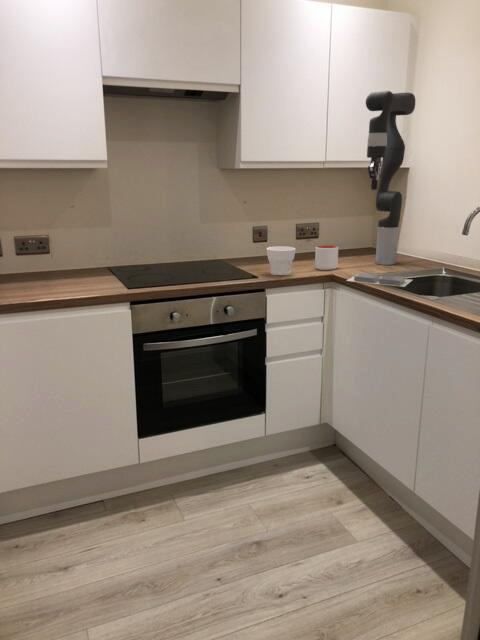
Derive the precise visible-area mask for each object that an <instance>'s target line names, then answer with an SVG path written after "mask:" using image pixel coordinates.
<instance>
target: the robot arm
mask: <svg viewBox="0 0 480 640" xmlns="http://www.w3.org/2000/svg"><path fill="white" fill-rule="evenodd" d="M365 107H366V109H367V110H368V111H370V112H379V111H380V112H381V113H380V114H379V115H378V116H375V117H372V118H370V119H369V123H368V124H369V126H368V136H367V149H366V157H367V158H368V159H370V162H369V165H368V167H367V170H368V174H369V179H370V181H371V183H370V184H371V186H370V189H371V191H375V190H377V192H376V197H375V208H376V211H378V212H387V213H389V214H388V216H386V217H385V218H382V219H379V220H378V222H377V234H376V237H377V239H376V249H375V250H376V251H375V264H378V265H381V266H382V265H385V266H389V265H390V266H392V265H396V263H397V253H398V237H399V227H400V226H399V224H400V220H401V214H402V213H401V212H402V206H403V196H402V193H401V192H400V191H398V190H394V191H393V190H389V188H390V184H391V182H392V179H393V177H394V176H395V174H396V173H397V172H398V170H399V169H400V168H401V166H402V165H403V162H404V160H405V159H404V158H405V150H406V145H405V141H404V140H403V138H402V136H401V134H400V132H399V129H398V126H397V116H408V115H411V114H412V113H413V112H414V111H415V108H416V96H415V94H413V92H396V93H393V92H392V91H391V90H383V91H372V92H370V93H369V94H368V95H367V96H366V98H365Z"/></svg>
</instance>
